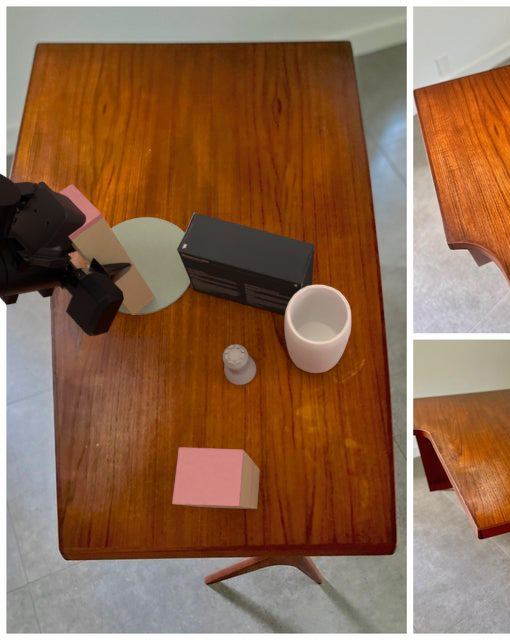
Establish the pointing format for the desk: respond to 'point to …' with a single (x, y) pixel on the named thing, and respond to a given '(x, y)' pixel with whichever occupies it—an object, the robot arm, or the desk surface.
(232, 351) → the rook chess piece
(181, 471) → the tall pink tan block
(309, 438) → the desk surface
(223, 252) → the box
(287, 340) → the cup
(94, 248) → the pink-topped tan pillar
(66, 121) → the desk surface
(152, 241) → the plate
